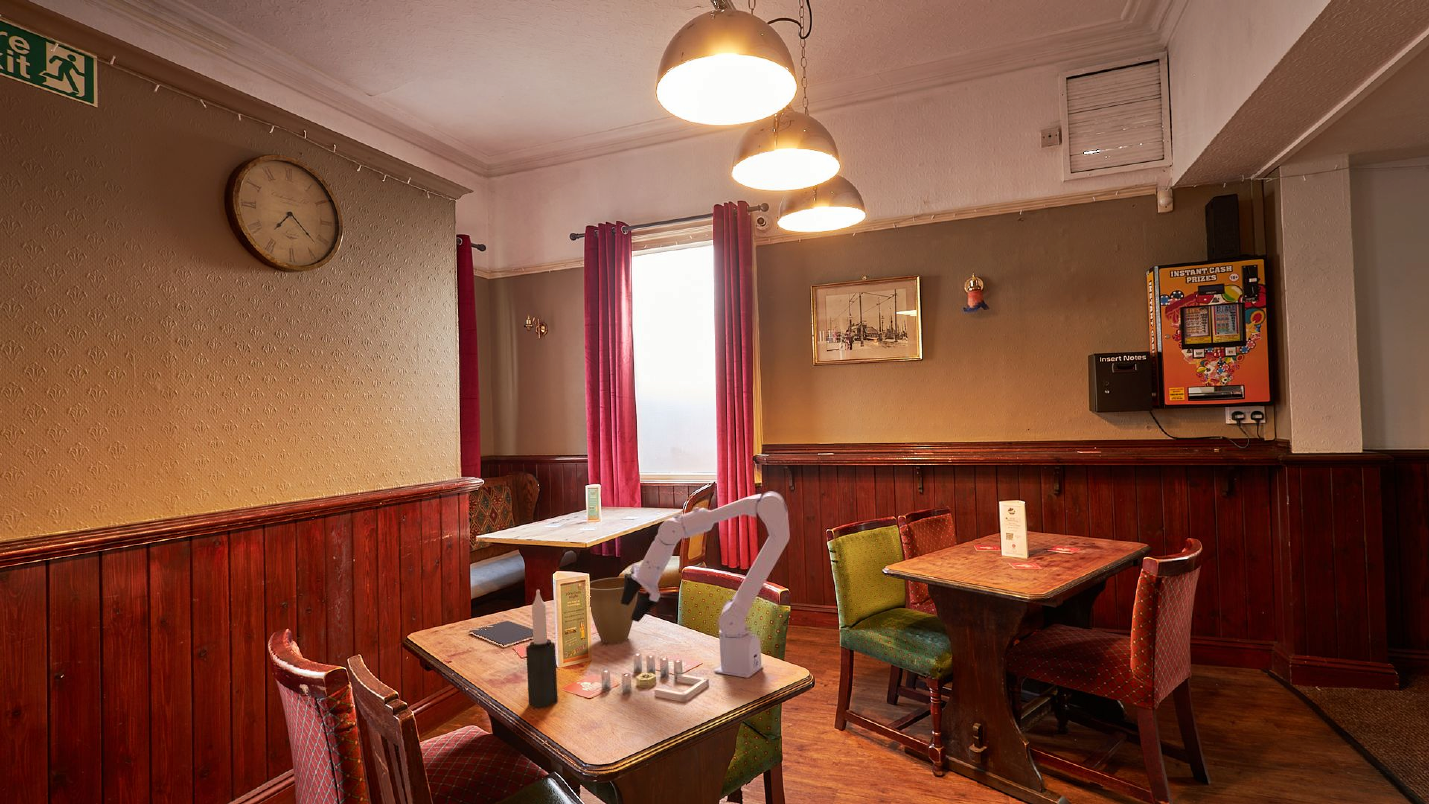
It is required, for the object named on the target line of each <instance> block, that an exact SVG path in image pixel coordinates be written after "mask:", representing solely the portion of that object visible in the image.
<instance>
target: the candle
mask: <svg viewBox="0 0 1429 804" xmlns="http://www.w3.org/2000/svg"><path fill="white" fill-rule="evenodd" d="M535 593H536V595H535V598H534V601H533V603H532V605H531V614H532V615H531V618H532V629H533V639H532V640H533V641H530V642H529V645H527V646H526V647H525V650H526V651H525V653H526V655H525V656H526V670H527V671H526V673H527V690H528V692H527V693H528V706H529V705H530V706H529V707H531V708H535V709H540V708H541V709H542V708H543V709H546V708H548V707H549V705H550V706H551V705H554V704H556V703H557V702H558V701H559V699H558V681H557V678H558V677H557V661H556V660H557V659H556V643H555V642H552V640H551V639H549V638H548V631H547V629H548V628H547V611H546V610H547V609H546V603H545V602H544V601H543V599H542V595H541V594H540V593H541V591H540V589H536V591H535ZM541 709H540V710H541Z"/></svg>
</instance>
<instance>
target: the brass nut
mask: <svg viewBox="0 0 1429 804" xmlns="http://www.w3.org/2000/svg"><path fill="white" fill-rule="evenodd" d="M635 677H636V678H635V683H636V685H637V686H638V687H639V688H641V689H644V688H645V689H646V688H653V686H655V685H657V675H656V674H653V673H647V672H642V673H640V674H638V675H637V676H635Z"/></svg>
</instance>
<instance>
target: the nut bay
mask: <svg viewBox="0 0 1429 804" xmlns="http://www.w3.org/2000/svg"><path fill="white" fill-rule="evenodd" d="M676 682H677V683H681V684H688V685H692V686H691V687H689V688H688V689H687V690H685V691H683V692H680V691H676V690H671V689H665V688H661V687H656V688H654V697H657V698H661V699H662V698H663V699H667V700H672V701H677V702H682V703H686V702H687V701H689V700H690V699H692V698H693V697H695V696H696V695H697V694H699V693H700V692H702V691H704V690H705V689H706V688H707V687H709V686H710V684H709V683H710V682H709V678H706V677H701V676H699V677H698V676H694V675H687V674H678V675H677V680H676ZM701 690H702V691H701Z"/></svg>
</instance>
